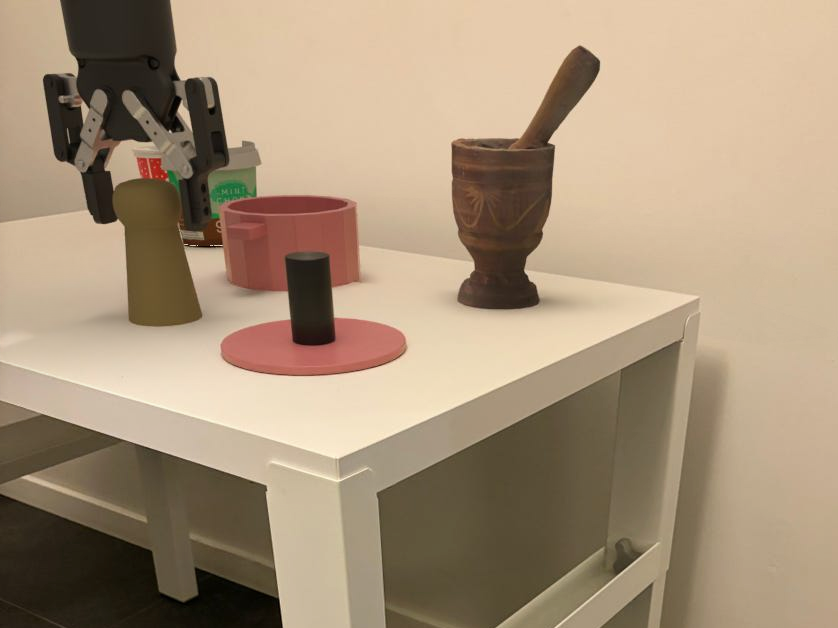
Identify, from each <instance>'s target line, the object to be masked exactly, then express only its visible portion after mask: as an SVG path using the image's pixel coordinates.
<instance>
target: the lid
mask: <svg viewBox="0 0 838 628" xmlns="http://www.w3.org/2000/svg"><path fill="white" fill-rule="evenodd" d="M285 267H286V278H287V288H288V291H287V297H288V308H289V318H290V319H282V320H280V319H279V320H275V321H268V322H263V323H259V324H254V325H251V326H247V327H244V328H241V329H238V330H236V331H234V332H232V333H230V334H228V335H227V336H225V337H224V338H223V339H222V340H221V343H220V352H221V356H222V358H223V359H224V360H225V362H228V363H229V364H231V365H233V366H236V367H238V368H240V369H241V368H242V369H244V370H249V371H252V372H253V371H254V372H259V373H266V374H273V375H288V376H317V375H318V376H319V375H333V374H343V373H348V372H356V371H360V370H367V369H370V368H374V367H378V366H380V365H384V364H386V363H389V362H392V361H394V360H395V359H397V358H399V357H400V356H402V355H403V354H404V353H405V351H406V348H407V338H406V336H405V334H404V333H403V332H402V331H401V330H399V329H398V328H395V327H394V326H390V325H388V324H385V323H380V322H377V321H371V320H366V319H359V318H358V319H357V318H346V317H335V311H334V309H335V308H334V295H333V287H332V281H331V267H330V256H329V254H327V253H324V252H315V251H304V252H294V253H290V254H287V255H285Z"/></svg>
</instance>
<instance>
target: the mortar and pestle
mask: <svg viewBox="0 0 838 628" xmlns="http://www.w3.org/2000/svg"><path fill="white" fill-rule="evenodd" d="M600 69H601V60H600V59H599V58H598V57H597V56H596V55H594V53H593V52H592V51H590V49H588V48H586V47H584V46H583V45H580V44H579V45H577V46H576V47H575V48H573V49H572V50H571V51H570V52H569V53H568V55H566V57H565V58H564V59H563V61H562V63H561V65H560V66H559V68H558V70H557V71H556V74H555V75H554V77H553V79H552V81H551V83H550V84H549V86H548V89H547V90H546V92H545V95H544V97H543V99H542V101H541V103H540V105H539V107H538V109H537V111H536V112H535V114H534V116H533V117H532V119H531V120H530V123H529V124H528V126H527V127H526V129H525V131H524V132H523V133H522V135H521V136H520V138H518V137H515V138H504V137H503V138H502V137H497V138H496V137H495V138H494V137H493V138H492V137H488V138H483V137H482V138H481V137H479V138H463V137H461V138H457V139H455V140H452V141H451V175H452V180H451V201H452V214H453V216H454V217H453V218H454V220H455V224H456V226H457V236H458V239H459V242H460V243H461V244H462V246H464V247H465V249H466V250H467V252H468V253H469V256H471V258H472V260H473V266H474V270H473V271H472V272H471V273H470V274H469V277H467V278H465V279H464V280H463V281H462V282H461V284H460V287H459V289H458V293H457V303H458V304H459V303H460V305H463V306H465V307H469V308H474V309H480V310H497V311H499V310H500V311H502V310H507V311H508V310H521V309H526V308H532V307H534V306H537V305H538V304H539V303H540V297H539V292H538V287H537V285H536V283H534V281H531V280H530V277H529V276H528V274H527V273H526V272H525V268H526V264H527V259H528V257H529V256H530V255H531V254H532V253H533V252H535V250H536V249H537V248H538V247H539V245H540V244H541V242H542V240H543V238H544V232H543V231H544V230H543V229H544V227H545V224H546V222H547V221H548V218H549V215H550V210H551V206H552V198H553V179H554V178H553V177H554V176H553V175H554V166H555V155H556V154H555V152H556V145H555V144H552V143H550V142H549V141H550V140H551V138H552V136H553V135H554V133H555V132H556V131H557V130H558V129H559V127H560V126H561V125H562V123H563V122H564V121H565V119H566V118H567V117H568V115H569V114H570V113H571V112H572V111H573V110H574V108H575V107H576V106H577V105H578V103H580V101H581V100H582V98H583V97H584V96H585V95H586V93H587V92H588V91H589V90H590V88H591V87H592V86H593V84H594V82H595V81H596V79H597V77H598V75H599V73H600Z"/></svg>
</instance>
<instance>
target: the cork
mask: <svg viewBox="0 0 838 628" xmlns="http://www.w3.org/2000/svg"><path fill="white" fill-rule="evenodd" d="M112 202H113V208H114V211H115V214H116V216H117V218H118V219H117V221H119V222H120V223H121V224H122V226H123V227H124V244H125V245H124V247H125V265H126V267H125V268H126V287H127V288H126V290H127V308H128V310H127V311H128V321H129V322H130V323H131V324H133V325H136V326H142V327H157V328H158V327H160V328H161V327H173V326H182V325H186V324H191V323H194V322H196V321H199V320H200V319H202V318H203V313H202V310H201V306H200V302H199V298H198V294H197V290H196V286H195V283H194V279H193V276H192V272H191V269H190V265H189V261H188V256H187V254H186V250H185V245H184V244H183V239H182V235H181V231H179V228H178V222H179V220H180V218H181V215H182V204H181V197H180V194H179V191H178V190H177V188H176V187H175V186H174V185H173V184H172V183H170V182H168V181H164V180H160V179H153V178H141V177H139V178H132V179H129V180H125V181H122V182H120V183H118V184H117V185H116V186H115V188H114V192H113V201H112Z"/></svg>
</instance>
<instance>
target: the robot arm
mask: <svg viewBox="0 0 838 628" xmlns="http://www.w3.org/2000/svg"><path fill="white" fill-rule="evenodd" d="M59 2H60V9H61V14H62V19H63V25H64V30H65V36H66V40H67V46H68V51H69V52H70V54H71V55H72V56H73V57H74V58H75V60H76V63H77V76H75V74H73V73H72V72H62V73H46V74H44V75H43V78H42V85H43V92H44V98H45V104H46V105H45V106H46V110H47V117H48V123H49V124H48V125H49V129H50V137H51V142H52V149H53V155H54V157H55V158H56V160H57V161H58V162H60V163H67V164H70V165H72V166H74V167H75V169H77V171H78V172H79V173H80V175H81V176H80V177H81V181H82V187H83V191H84V198H85V201H86V202H85V203H86V208H87V210H88V212H89V214H90V216H92V219H93V221H94V222H95V224H97V225H108V224H113V223H116V222H117V221H118V218H117V216H116V214H115V211H114V208H113V202H112V201H113V192H114V190H115V188H114V184H113V179H112V173H111V170H106V168H107V167H108V165H109V163H110V160H111V158H112V155H113V153H114V150H115V149H116V148H117V147H118V146H119V145H120V144H121V142H126V141H135V142H137V143H153V145H155V146H156V147H157V148H158V150H159V151H160V152H162V153H164V154H166V155H167V156H168V158H169V159H170V161H171V162H172V163H173V165H174V166H175V168H176V169H177V170H178V172H179V173H180V175H181V176H182V177H183V179H180V180H178V183H179V190H180V197H181V204H182V211H183V218H184V225H185V229H186V230H187V231H191V232H198V231H201V230H205V229H207V227H208V222H210V221H211V217H212V211H211V203H210V195H209V187H208V176H209V174H210V173H211V172H212V171H215V170H217V169H219V168H223V167H226V166H228V164H229V161H230V159H229V153H228V148H229V146H228V140H227V135H226V129H225V123H224V116H223V110H222V104H221V103H222V102H221V97H220V92H219V85H218V82H217V81H216V80H215V78H214V77H211V76H196V77H190V78H187V79H185V80H183V79H182V80H181V78H180V76H179V74H178V72H177V69H176V63H175V62H176V55H177V53H178V47H177V40H176V33H175V25H174V19H173V10H172V3H171V0H59ZM83 103H84V104H85V105H86V107H87V109H88V112H87V114H86V118H85V120H84V118H83V117H84V116H83V110H82V104H83ZM181 104H182V106H183V107H184V108H185V109H186V110H187V111H188V115H189V120H190V126H191V128H190V127H189V126H188V125H189V124H188V123H187V122H186V121H185V120H184V118H183V117H182V116H181V114H180V113H179V109H180V106H181Z"/></svg>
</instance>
